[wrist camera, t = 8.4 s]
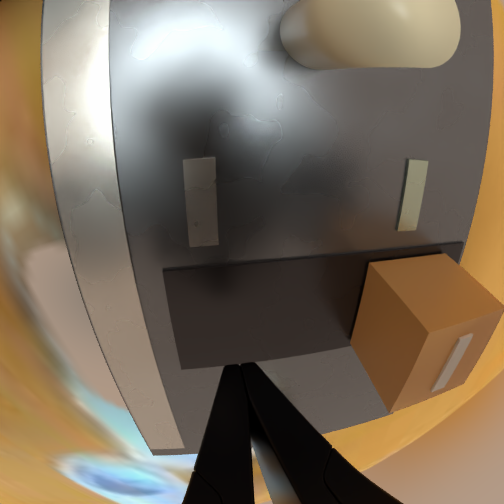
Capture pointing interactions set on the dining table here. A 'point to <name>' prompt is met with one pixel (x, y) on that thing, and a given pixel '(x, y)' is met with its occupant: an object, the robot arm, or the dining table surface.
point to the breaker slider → (421, 327)
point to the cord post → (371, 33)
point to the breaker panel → (247, 195)
